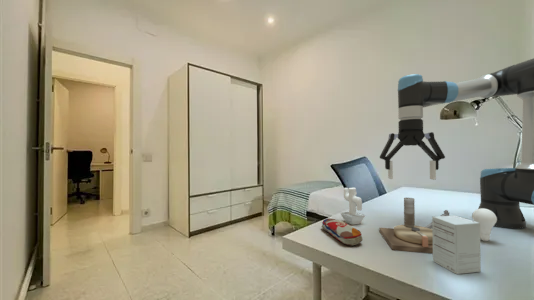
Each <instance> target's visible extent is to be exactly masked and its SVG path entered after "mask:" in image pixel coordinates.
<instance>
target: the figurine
mask: <svg viewBox="0 0 534 300" xmlns="http://www.w3.org/2000/svg"><path fill="white" fill-rule="evenodd" d="M357 193H358V192H357V188H356V187H349V188H348V187H344V188H343V198H344V200H345V201H347V202H348V211H347V212H340V215H341V217H342V219H343V220H344V221H343V222H344V223H346V224H348V225H351V226H353V225H360V224H361V223H362V222H363V220H364V218H365V217H366V215H365V214H363V213H359V212H357V211H362V209H363V200H362V198H361V197H360V196H357Z"/></svg>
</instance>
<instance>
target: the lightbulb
mask: <svg viewBox="0 0 534 300" xmlns="http://www.w3.org/2000/svg"><path fill="white" fill-rule="evenodd" d="M472 221H475V222H478V223H480V240H482V241H483V242H487V241H490V238H491V234H492V230H493V227H495V226H494V225H495V223H496V222H497V217H496V215H495V214H494V213H493V212H492V211H490V210H488V209H484V208H480V209H478V208H477V209H475V210H474V211H473V212H472Z"/></svg>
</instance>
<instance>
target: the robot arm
mask: <svg viewBox="0 0 534 300" xmlns="http://www.w3.org/2000/svg"><path fill="white" fill-rule="evenodd" d="M397 82H398V84H397V99H398V100H397V104H398V105H397V107H398V108H397V109H398V116H397V117H398V132H397V133H398V134H397V133H389V134H388V140H387V142H386V143H385V145H384V147H383V148H382V149H383V150H382V151H381V153H380V155H379V159H380V160H384V165H385V166H384V168H385V170H387V173H388V174H387V175H388V176H387V178H388V179H389V180H394V175H393V173H394V171H393V160H391V159H392V158H393V157H394V156H395V155H396V154H397V153H398V152H399V150H400V149H401V148H402V147H404V146H407V147H408V146H411V147H413V146H418V147H420V148H421V150H422V151H423V152H424V153H426V155H427V156H428V157H429V158H430V160H429V179H430V180H433V181H435V180H436V179H437V175H436V174H437V173H436V172H437V171H438V170H439V168H440V167H439V165H440V164H439V163H440V162H439V161H441V160H444V159H446V156H445V154H444V152H443V150H442V149H441V147H440V145H439V144H438V142H437V140H436V139H435V134H434V132H432V131H431V132H427V133H424V119H423V118H424V108H427V107H432V106H433V107H434V106H437V105H438V106H439V105H441V104H442V105H443V104H450V103H453V102H458V101H463V100H464V101H465V100H469V99H475V98H479V97H480V98H481V99H482V98H483V99H487V98H492V97H493V98H494V97H500V96H502V97H503V96H513V95H516V96H517V97H518V98H519V99H521V100H522V129H521V130H522V131H521V137H522V138H521V161H520V163H519V164H518V165H516V167H504V168H502V167H501V168H499V167H498V168H484V169H482V170H481V171H480V177H479V183H480V184H479V185H480V191H479V192H480V203H479V205H478V208H477V209H480V208H484V209H488V210H490V211H492V212H493V213H494V214H495V215H496V217H497V222H496V223H495V225H494V226H493V227H496V228H505V229H515V230H517V229H520V230H521V229H525V228H527V221H526V219H525V215H524V214H523V212H522V210H521V208H520V207H521V206H520V203H522V204H526V205H532V206H534V57H533V58H530V59H528V60H525V61H521V62H519V63H516V64H513V65H510V66H507V67H504V68H501V69H499V70H497V71H495V72H494V71H493V72H491V73H487V74H483V75H480V76H479V77H477V78H474V79H469V80H464V81H458V82H454V81H446V80H444V81H424V78H423V75H421V74H419V73H412V74H408V75H404V76H402V77H401V78H399V79H398V81H397ZM424 138H425V139H426V140H427V142H428V143H429V144H430V146H431V148H432V150H431V149H430V147H429V146H428V145H427V144H426V142H425V141H423V139H424ZM396 139H398V140H399V141H398V143H396V145H395V146H394V147H393V148H392V150H391V151H390V149H391V147H392V144H393V143H394V141H395V140H396ZM389 151H390V152H389ZM388 152H389V153H388Z"/></svg>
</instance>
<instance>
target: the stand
mask: <svg viewBox="0 0 534 300" xmlns="http://www.w3.org/2000/svg"><path fill="white" fill-rule="evenodd" d="M378 231H379V233H380V234H381V236H382V237H383V239H384V240H385V242H386V243H387V244H388V246H389V248H391V250H392V251H400V252H409V253H410V252H412V253H423V254H433V244H428V247H423V246H422V244H417V243H412V242H408V241H405V240H402V239H399V238H398V237H396V236H395V235H394V227H393V228H391V227H388V228H387V227H379V228H378Z"/></svg>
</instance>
